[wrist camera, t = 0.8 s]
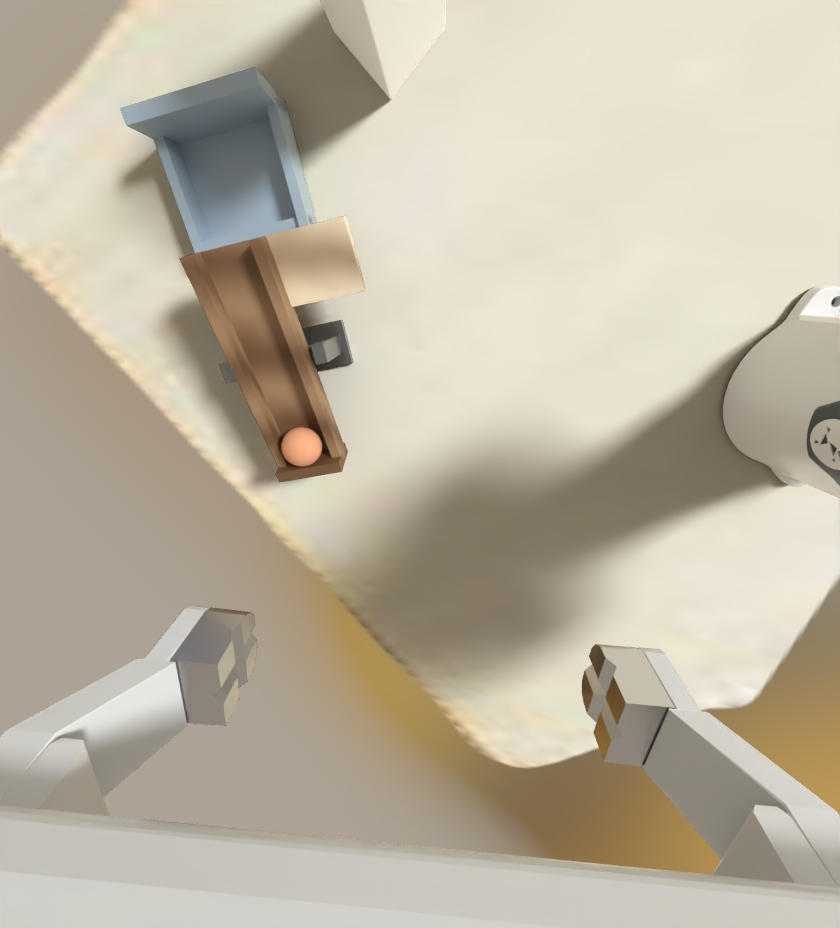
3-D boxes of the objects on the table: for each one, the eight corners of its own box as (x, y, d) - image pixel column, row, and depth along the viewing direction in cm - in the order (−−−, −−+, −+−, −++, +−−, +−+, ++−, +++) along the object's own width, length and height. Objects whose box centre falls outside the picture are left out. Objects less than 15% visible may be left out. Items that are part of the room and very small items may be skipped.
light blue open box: (285, 102, 34) (254, 67, 28) (318, 229, 37) (296, 219, 32) (171, 136, 35) (119, 108, 30) (212, 255, 38) (173, 250, 33)
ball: (318, 417, 39) (309, 434, 36) (330, 451, 40) (322, 470, 37) (282, 424, 39) (269, 442, 36) (295, 457, 41) (284, 476, 38)
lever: (406, 436, 42) (404, 460, 38) (290, 457, 43) (277, 482, 39) (347, 214, 31) (337, 219, 28) (198, 252, 33) (169, 261, 29)
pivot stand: (353, 362, 41) (337, 375, 35) (257, 382, 43) (225, 398, 37) (342, 319, 40) (323, 325, 34) (242, 341, 41) (207, 351, 35)
